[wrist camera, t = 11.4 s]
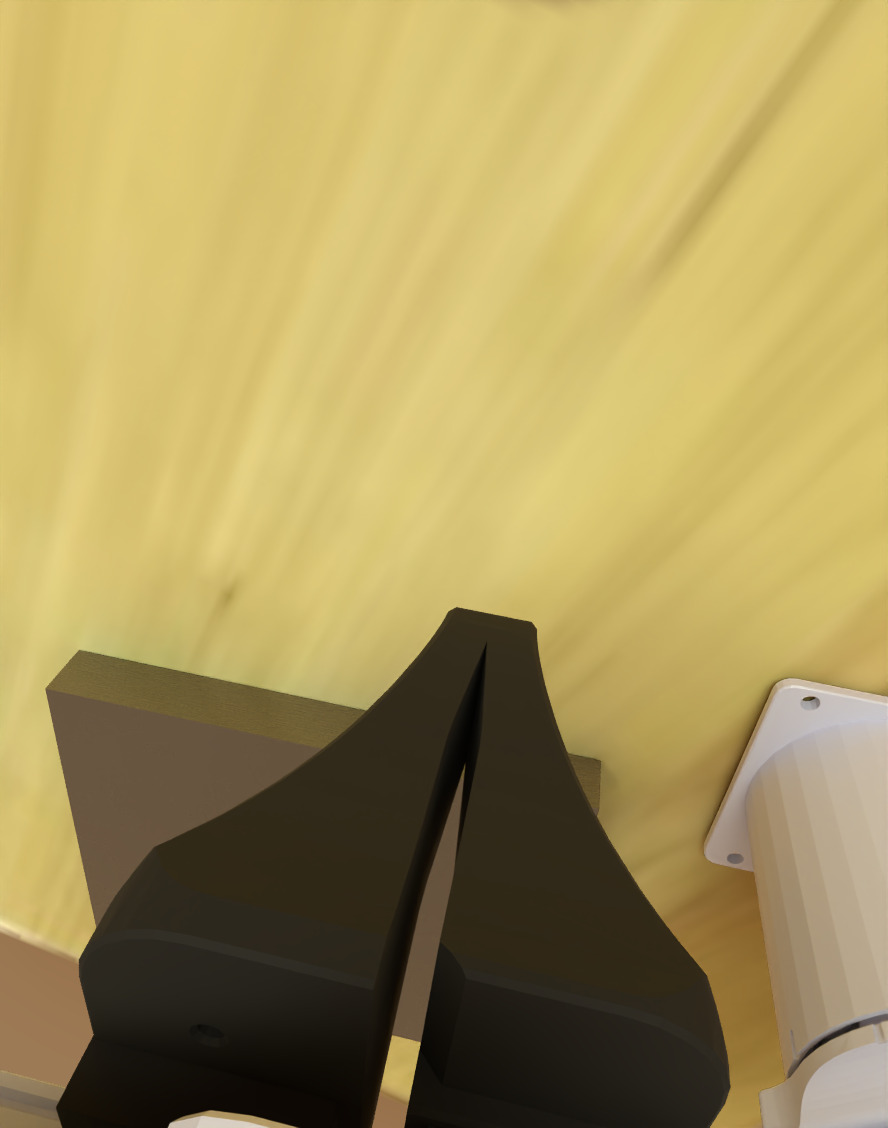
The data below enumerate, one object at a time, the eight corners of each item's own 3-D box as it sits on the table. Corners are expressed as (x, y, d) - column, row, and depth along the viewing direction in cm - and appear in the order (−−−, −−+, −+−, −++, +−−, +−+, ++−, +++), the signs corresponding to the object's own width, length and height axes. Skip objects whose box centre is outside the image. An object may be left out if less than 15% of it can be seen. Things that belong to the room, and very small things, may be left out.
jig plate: (600, 760, 27) (598, 808, 25) (521, 1017, 36) (516, 1065, 34) (78, 650, 29) (45, 688, 27) (127, 922, 38) (104, 963, 36)
